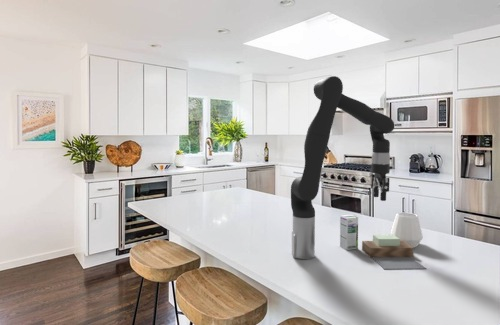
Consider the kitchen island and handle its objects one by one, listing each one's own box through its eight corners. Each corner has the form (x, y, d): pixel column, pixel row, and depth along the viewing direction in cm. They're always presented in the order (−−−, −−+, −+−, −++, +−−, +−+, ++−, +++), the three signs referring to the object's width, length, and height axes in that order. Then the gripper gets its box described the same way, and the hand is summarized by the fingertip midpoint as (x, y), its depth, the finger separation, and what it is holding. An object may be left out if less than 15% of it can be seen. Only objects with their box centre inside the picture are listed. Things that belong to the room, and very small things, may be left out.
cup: (389, 246, 144) (390, 216, 143) (391, 237, 156) (392, 209, 154) (422, 251, 138) (423, 219, 136) (422, 241, 149) (423, 212, 148)
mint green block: (378, 246, 133) (378, 239, 132) (372, 241, 139) (373, 234, 138) (399, 245, 133) (400, 238, 132) (393, 241, 139) (393, 234, 138)
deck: (369, 257, 131) (370, 248, 130) (362, 249, 139) (362, 240, 139) (413, 257, 131) (413, 247, 130) (402, 249, 140) (402, 240, 139)
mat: (384, 269, 119) (384, 268, 119) (372, 258, 130) (372, 257, 130) (426, 269, 119) (426, 268, 119) (411, 257, 130) (411, 257, 130)
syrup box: (346, 250, 139) (347, 218, 138) (339, 245, 145) (340, 214, 143) (358, 249, 140) (358, 217, 139) (350, 244, 146) (351, 214, 145)
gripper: (366, 161, 148) (365, 195, 149) (378, 164, 134) (377, 202, 135) (382, 161, 148) (381, 195, 149) (396, 164, 134) (394, 202, 135)
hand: (379, 198), depth 142 cm, fingers open, 7 cm apart
